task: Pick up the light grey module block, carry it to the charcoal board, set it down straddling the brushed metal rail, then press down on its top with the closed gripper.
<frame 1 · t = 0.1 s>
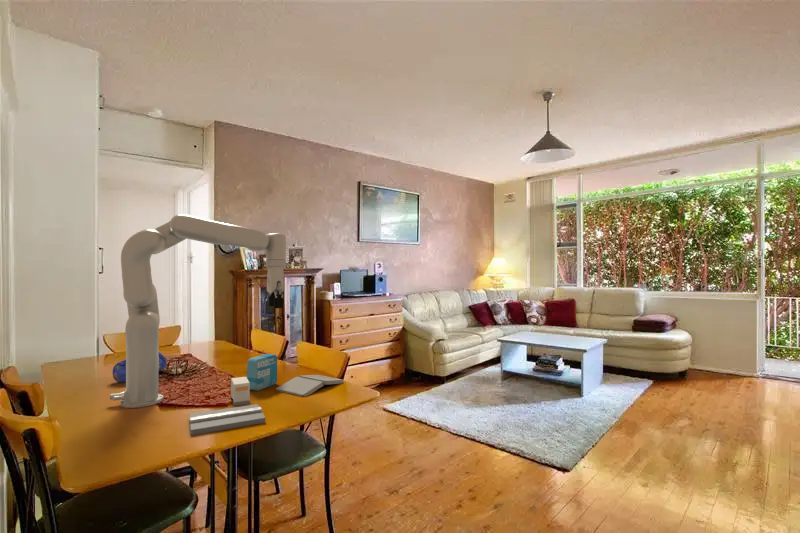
hand: (275, 307, 162), 31 cm above the table, tool pointing down, fingers open, 9 cm apart
rail board: (227, 420, 124), on the table
grey bent flat piece: (310, 388, 161), on the table
data package: (262, 387, 159), on the table
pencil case: (141, 377, 174), on the table
module: (240, 400, 142), on the table
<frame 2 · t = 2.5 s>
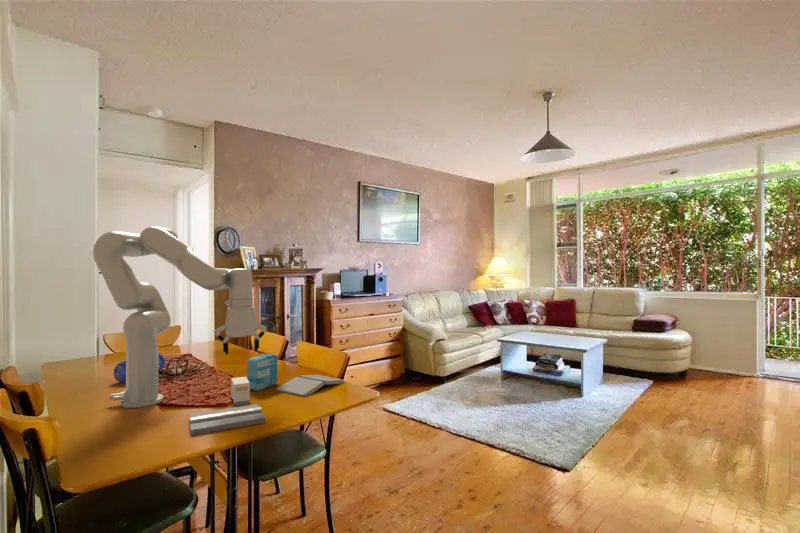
hand: (241, 352, 143), 17 cm above the table, tool pointing down, fingers open, 9 cm apart
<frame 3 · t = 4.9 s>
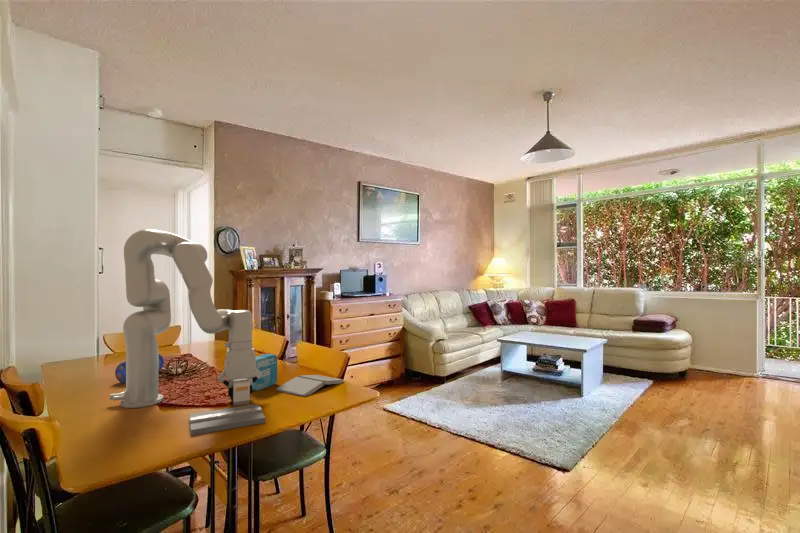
hand: (240, 396, 142), 1 cm above the table, tool pointing down, fingers closed on module, 5 cm apart
module: (240, 400, 142), on the table, touching gripper
everything else where it was.
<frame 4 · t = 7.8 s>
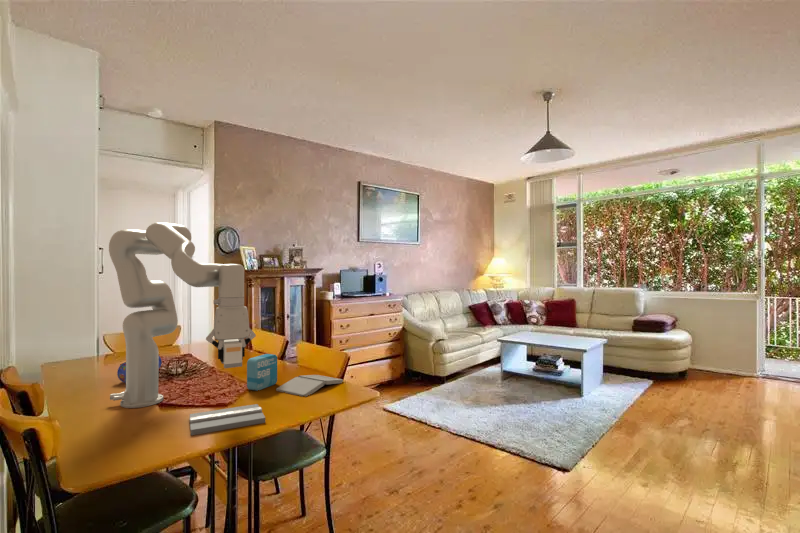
hand: (231, 359, 128), 18 cm above the table, tool pointing down, fingers closed on module, 5 cm apart
module: (231, 364, 128), point 16 cm above the table, touching gripper
when the fingers open (4 cm above the table, at t = 10.9 s): module stays where it is, resting on rail board.
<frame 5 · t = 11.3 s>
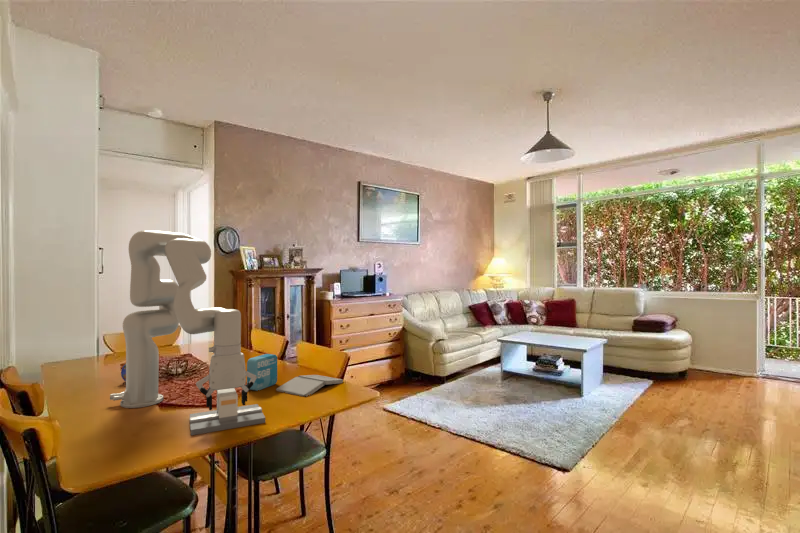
hand: (227, 406, 124), 4 cm above the table, tool pointing down, fingers open, 9 cm apart
module: (226, 415, 124), point 1 cm above the table, touching rail board
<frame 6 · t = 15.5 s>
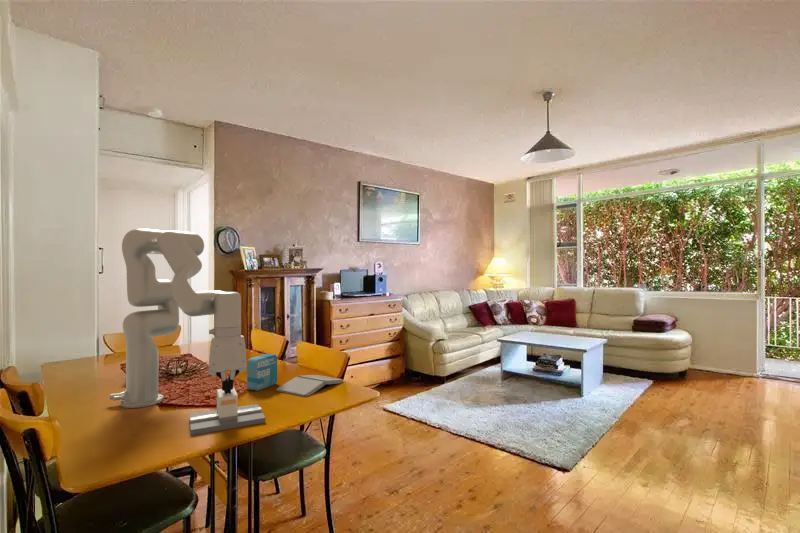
hand: (227, 392, 124), 9 cm above the table, tool pointing down, fingers closed
module: (226, 415, 124), point 1 cm above the table, touching gripper, rail board
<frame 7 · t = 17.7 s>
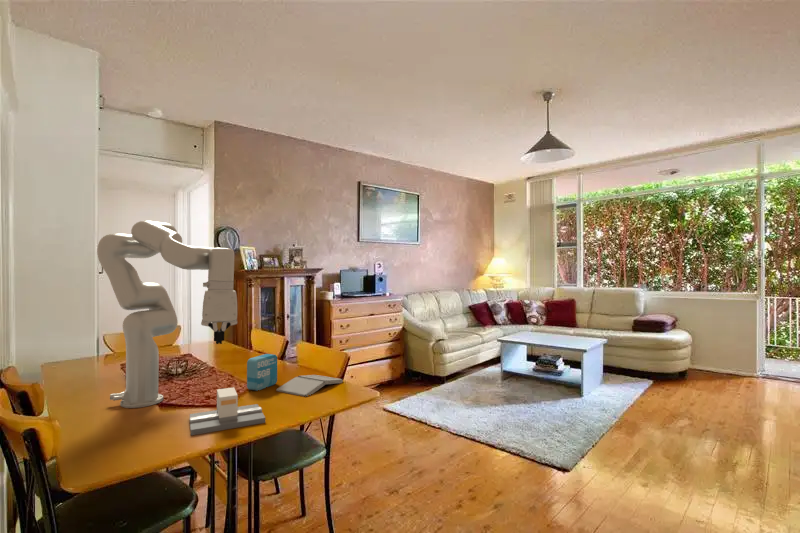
hand: (218, 343, 130), 22 cm above the table, tool pointing down, fingers closed
module: (226, 415, 124), point 1 cm above the table, touching rail board
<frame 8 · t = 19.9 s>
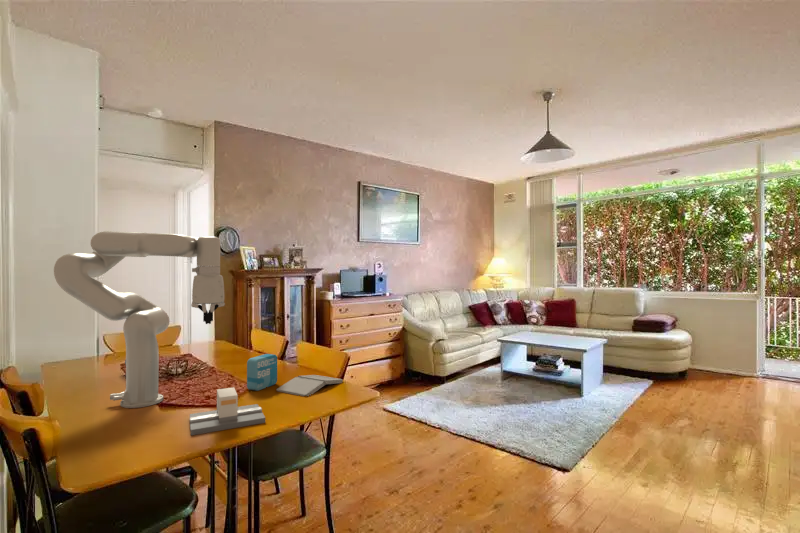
hand: (208, 323, 143), 27 cm above the table, tool pointing down, fingers closed
at the end: module inside the target area on the rail board (0.1 cm from its centre), point 1.5 cm above the rail board's base; module tilted 0°; the gripper is holding nothing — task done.
